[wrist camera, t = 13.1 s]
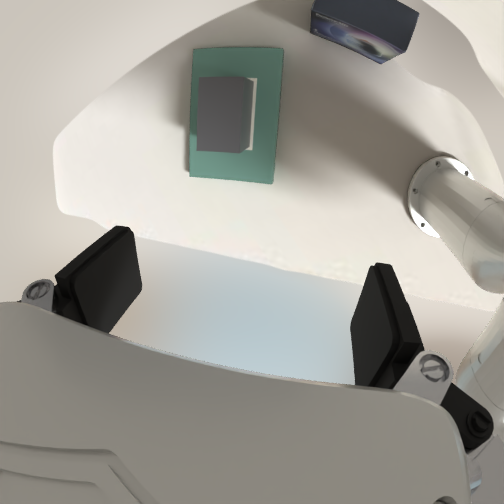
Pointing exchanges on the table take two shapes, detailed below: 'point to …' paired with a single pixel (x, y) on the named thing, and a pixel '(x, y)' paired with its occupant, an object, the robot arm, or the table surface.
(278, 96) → the board
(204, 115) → the block
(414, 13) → the small box
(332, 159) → the table surface
